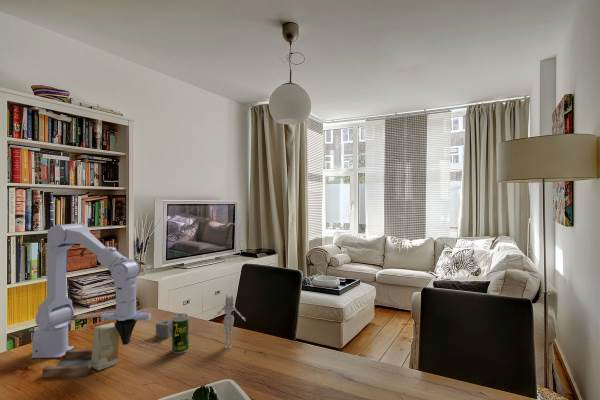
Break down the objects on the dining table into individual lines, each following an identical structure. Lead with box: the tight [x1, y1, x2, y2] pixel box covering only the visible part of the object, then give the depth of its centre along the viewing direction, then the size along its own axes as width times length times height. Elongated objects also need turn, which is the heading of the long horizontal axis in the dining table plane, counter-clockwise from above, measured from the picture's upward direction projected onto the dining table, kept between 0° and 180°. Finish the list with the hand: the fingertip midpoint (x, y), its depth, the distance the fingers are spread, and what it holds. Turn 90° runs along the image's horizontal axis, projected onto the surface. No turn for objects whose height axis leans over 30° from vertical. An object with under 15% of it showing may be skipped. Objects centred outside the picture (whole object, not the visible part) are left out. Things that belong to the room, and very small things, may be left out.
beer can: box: [171, 313, 190, 355], centre depth 125 cm, size 5×5×12 cm
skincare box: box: [91, 322, 120, 371], centre depth 114 cm, size 6×4×12 cm
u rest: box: [42, 348, 95, 378], centre depth 113 cm, size 12×13×2 cm
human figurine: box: [212, 294, 246, 349], centre depth 129 cm, size 12×4×18 cm, turn 83°
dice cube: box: [155, 319, 172, 339], centre depth 138 cm, size 5×5×5 cm
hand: (126, 343), depth 114 cm, fingers closed
